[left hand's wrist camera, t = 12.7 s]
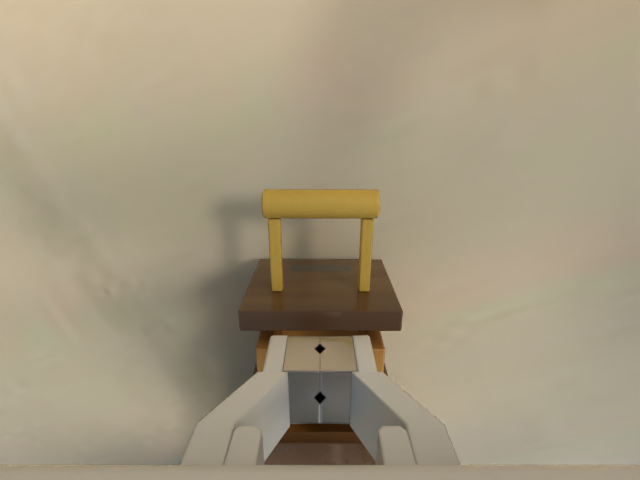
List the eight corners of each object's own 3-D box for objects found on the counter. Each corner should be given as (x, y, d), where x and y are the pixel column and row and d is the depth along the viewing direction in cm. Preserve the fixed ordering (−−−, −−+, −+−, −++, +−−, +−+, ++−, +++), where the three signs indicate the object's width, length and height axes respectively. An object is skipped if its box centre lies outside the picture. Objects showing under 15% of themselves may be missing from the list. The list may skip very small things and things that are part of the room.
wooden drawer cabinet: (259, 347, 27) (235, 443, 19) (380, 348, 27) (405, 444, 19) (269, 475, 32) (252, 592, 24) (371, 475, 32) (387, 592, 24)
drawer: (254, 175, 22) (227, 200, 15) (387, 175, 22) (414, 200, 15) (269, 408, 28) (255, 491, 22) (371, 408, 28) (385, 491, 22)
